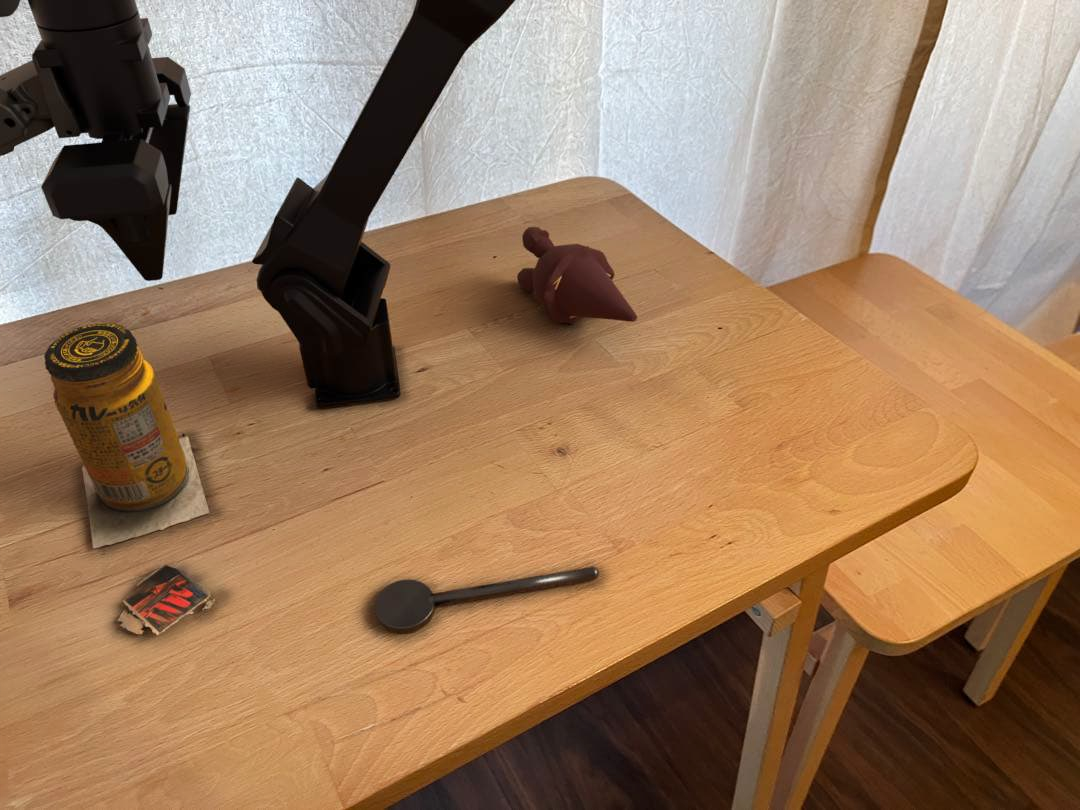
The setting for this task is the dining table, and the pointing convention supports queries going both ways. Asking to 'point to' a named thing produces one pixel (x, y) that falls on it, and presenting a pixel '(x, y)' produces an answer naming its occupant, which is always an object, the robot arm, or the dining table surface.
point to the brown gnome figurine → (572, 281)
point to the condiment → (122, 435)
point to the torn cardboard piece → (163, 600)
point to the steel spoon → (455, 597)
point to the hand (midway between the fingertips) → (162, 244)
